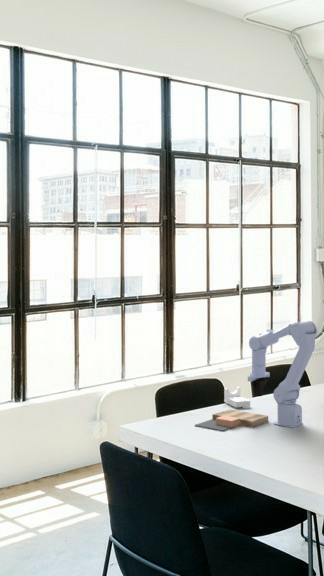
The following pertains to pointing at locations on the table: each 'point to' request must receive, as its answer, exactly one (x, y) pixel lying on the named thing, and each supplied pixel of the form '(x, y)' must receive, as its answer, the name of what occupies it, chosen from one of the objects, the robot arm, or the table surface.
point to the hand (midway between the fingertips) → (258, 395)
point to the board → (243, 417)
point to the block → (228, 421)
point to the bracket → (236, 398)
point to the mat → (213, 425)
